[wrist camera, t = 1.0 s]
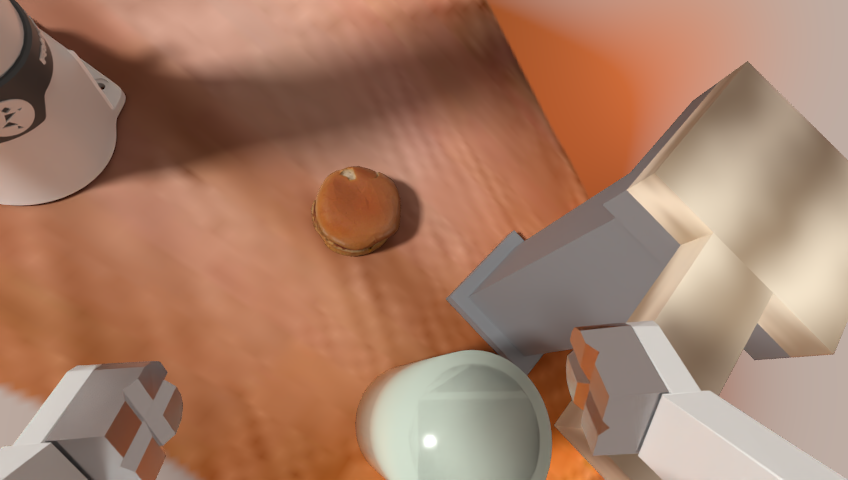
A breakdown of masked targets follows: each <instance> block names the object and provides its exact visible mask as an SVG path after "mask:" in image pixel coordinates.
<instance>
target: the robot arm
mask: <svg viewBox="0 0 848 480" xmlns="http://www.w3.org/2000/svg"><path fill="white" fill-rule="evenodd" d="M101 87H105V88H104V89H103V90H101ZM125 99H126V96H125V94H124V92H123V91H122V90H121V88H120V87H119V86H118V85H116V84H115V83H114V82H112V81H111V80H110V79H108V78H107V77H105V76H104V75H103V74H101V73H100V72H99V71H97V70H96V69H94V68H93V67H92V66H90V65H89V64H88V63H86V62H85V61H83V60H82V59H81V58H79V57H78V55H77V54H76V53H75V52H74V51H73V50H68V49H67V48H65V47H64V46H63V45H61V44H60V43H59V42H57V41H56V40H54V39H53V38H52V37H50V36H49V35H48V34H46V33H45V32H43V31H42V30H41V29H39V28H38V27H37V25H36V24H35V22H34V21H33V20H32V18H31V17H30V16H28V15H27V13H26V12H25V11H24V10H23V9H22V7H21V6H20V5H19V4H18V3H17V2H16V1H15V0H0V204H5V205H34V204H41V203H46V202H50V201H54V200H57V199H60V198H63V197H66V196H68V195H70V194H72V193H74V192H76V191H78V190H80V189H82V188H83V187H85V186H86V185H88V184H89V183H90V182H91V181H93V180H94V179H95V178H96V177H97V176H98V175H99V174H100V173H101V172H102V171H103V169H104V168H105V167H106V165H107V164H108V162H109V161H110V159H111V157H112V154H113V152H114V149H115V145H116V121H117V117H118V115H119V113H120V111H121V110H122V108H123V106H124V103H125ZM570 342H571V344H572V347H573V349H574V350H573V351H572V352H571V353H570V354H568V355H567V361H566V377H567V384H568V388H569V392H570V395H571V398H572V400H573V403H574V404H576V405H577V406H578V407H579V408H580V409H582V410H583V415H582V419H581V426H582V428H583V431H584V434H585V436H586V439H587V442H588V444H589V447H590V450H591V453H592V455H593V456H600V455H619V454H639V455H638V456H639V457H640V458H641V459H642V460H643V461H644V462H645V463H646V464H647V465H648V466H649V467H650V468H651V469H652V470H653V471H654V472H655V473H656V474H657V475H658V476H659V477H660V478H661V479H662V480H847V479H846V478H845V477H843V476H841V475H840V474H838V473H837V472H835V471H834V470H832V469H831V468H829V467H827V466H826V465H824V464H823V463H821V462H820V461H818V460H817V459H815V458H813V457H812V456H811V455H809V454H807V453H806V452H804V451H803V450H801V449H799V448H798V447H797V446H795V445H793V444H792V443H790V442H789V441H787V440H786V439H784V438H783V437H781V436H780V435H778V434H776V433H775V432H773V431H772V430H770V429H769V428H767V427H766V426H764V425H763V424H761V423H759V422H758V421H756V420H755V419H753V418H752V417H750V416H749V415H747V414H745V413H744V412H742V411H741V410H739V409H738V408H736V407H735V406H733V405H732V404H730V403H728V402H727V401H725V400H724V399H722V398H721V397H719V396H718V395H716V394H715V393H713V392H711V391H710V390H708V391H701V389H700V388H699V386H698V385H697V383H696V382H695V380H694V379H693V377H692V376H691V374H690V373H689V371H688V370H687V368H686V366H685V365H684V363H683V362H682V360H681V359H680V357H679V356H678V354H677V353H676V351H675V350H674V348H673V347H672V345H671V343H670V342H669V340H668V339H667V337H666V336H665V334H664V333H663V331H662V330H661V328H660V327H659V325H658V324H657V323H656V322H654V321H653V320H652V321H640V322H628V323H613V324H602V325H591V326H581V327H574V329H573V330H572V333H571V338H570ZM166 374H167V371H166V370H165V368H164V367H163V365H162V364H161V362H158V361H148V362H129V363H110V364H97V365H81V366H76V367H74V368H73V369H71V370H69V371H68V372H67V373H66V374H65V376H64V377H63V378H62V380H61V381H60V382H59V384H58V385H57V386H56V388H55V389H54V390H53V392H52V393H51V394H50V396H49V397H48V398H47V400H46V401H45V402H44V404H43V405H42V406H41V408H40V409H39V411H38V412H37V413H36V415H35V416H34V417H33V419H32V420H31V421H30V423H29V424H28V425H27V427H26V428H25V429H24V431H23V432H22V433H21V435H20V436H19V437H18V439H17V440H16V442H15V443H14V444H13V445H9V446H3V447H2V448H1V449H0V480H155V479H156V478H157V475H158V473H159V471H160V469H161V466H162V464H163V462H164V460H165V457H166V454H165V450H164V447H163V445H164V444H165V443H166V442H167V441H168V440H170V439H171V438H172V437H173V436H174V435H175V434H176V432H177V429H178V427H179V425H180V422H181V419H182V411H183V402H182V397H181V394H180V392H179V390H178V389H177V387H176V386H174V385H173V384H171V383H169V382H167V381H165V380H164V379H165V377H166Z"/></svg>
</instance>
